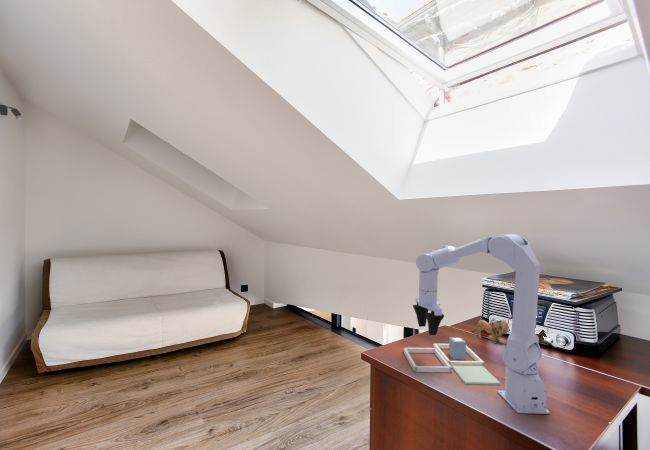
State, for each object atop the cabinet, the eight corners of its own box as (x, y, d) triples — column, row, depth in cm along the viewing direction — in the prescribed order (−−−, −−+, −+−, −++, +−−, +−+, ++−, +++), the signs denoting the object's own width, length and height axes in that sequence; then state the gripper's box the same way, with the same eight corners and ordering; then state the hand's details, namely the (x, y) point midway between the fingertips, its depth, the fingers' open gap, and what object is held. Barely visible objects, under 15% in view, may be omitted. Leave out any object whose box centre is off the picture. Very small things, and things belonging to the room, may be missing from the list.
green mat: (500, 384, 91) (500, 382, 91) (465, 384, 91) (465, 382, 91) (483, 368, 101) (483, 366, 101) (451, 367, 101) (451, 365, 101)
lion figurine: (511, 343, 121) (512, 320, 121) (504, 346, 118) (504, 323, 118) (474, 331, 133) (475, 310, 133) (467, 334, 130) (468, 312, 130)
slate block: (465, 359, 107) (465, 341, 107) (453, 359, 107) (454, 341, 107) (460, 354, 111) (460, 337, 111) (449, 354, 111) (449, 337, 111)
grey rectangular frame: (451, 372, 98) (452, 367, 98) (414, 372, 98) (414, 367, 98) (435, 352, 112) (435, 348, 112) (403, 351, 113) (403, 347, 112)
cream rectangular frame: (484, 367, 102) (484, 362, 102) (448, 366, 102) (448, 361, 102) (464, 348, 116) (464, 344, 116) (433, 347, 116) (433, 343, 116)
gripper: (451, 295, 98) (450, 338, 98) (429, 284, 112) (428, 322, 113) (429, 295, 97) (428, 339, 97) (410, 285, 111) (409, 323, 112)
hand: (427, 330), depth 105 cm, fingers open, 7 cm apart
